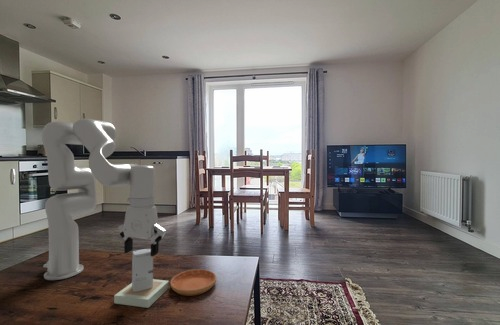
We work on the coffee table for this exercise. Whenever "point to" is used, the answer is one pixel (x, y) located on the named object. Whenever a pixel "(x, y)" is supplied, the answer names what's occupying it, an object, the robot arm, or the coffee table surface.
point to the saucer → (193, 282)
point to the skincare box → (142, 270)
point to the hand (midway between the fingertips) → (141, 253)
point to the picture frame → (141, 294)
